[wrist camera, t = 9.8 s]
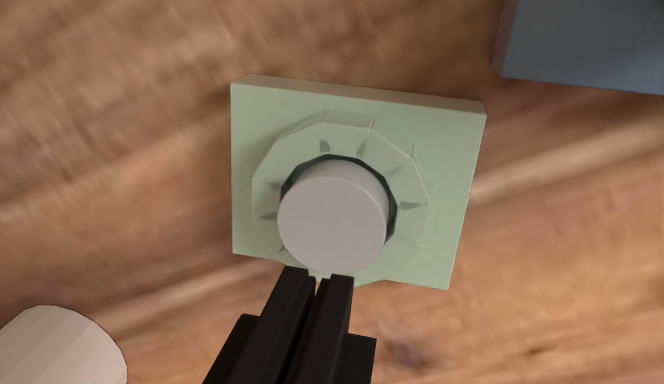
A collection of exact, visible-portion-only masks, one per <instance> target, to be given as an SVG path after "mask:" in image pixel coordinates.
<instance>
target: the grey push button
mask: <svg viewBox="0 0 664 384" xmlns="http://www.w3.org/2000/svg"><path fill="white" fill-rule="evenodd" d="M389 213H390V207H389V200H388V197H387V194H386V191H385V189H384V188H383V186H382V184H381V183H380V181H379V180H378V179H377V178H376V177H375V176H374V175H373V174H372V173H371V172H369V171H368V170H367V169H365V168H363V167H362V166H360V165H358V164H355V163H352V162H349V161H344V160H326V161H321V162H318V163H315V164H313V165H311V166H309V167H308V168H306V169H305V170H303V171H302V172H301V173H300V174H299V175H298V177H297V178H296V179H295V181H294V182H293V184H292V185H291V187H290V188H289V190H288V191H287V193H286V194H285V196H284V197H283V199H282V200H281V203H280V205H279V208H278V212H277V228H278V233H279V236H280V239H281V241H282V243H283V245H284V246H285V248H286V249H287V251H288V252H289V253H290V254H291V255H292V256H293V257H294V258H295V259H296V260H297V261H298V262H300V263H301V264H302V265H304V266H306V267H308V268H310V269H312V270H314V271H317V272H320V273H324V274H332V273H334V274H339V275H342V274H348V273H353V272H356V271H358V270H360V269H362V268H364V267H366V266H367V265H369V264H370V263H371V262H372V261H373V260H374V259H375V258H376V257H377V256H378V254H379V253H380V251H381V249H382V247H383V245H384V242H385V237H386V232H387V226H388V220H389Z"/></svg>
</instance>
